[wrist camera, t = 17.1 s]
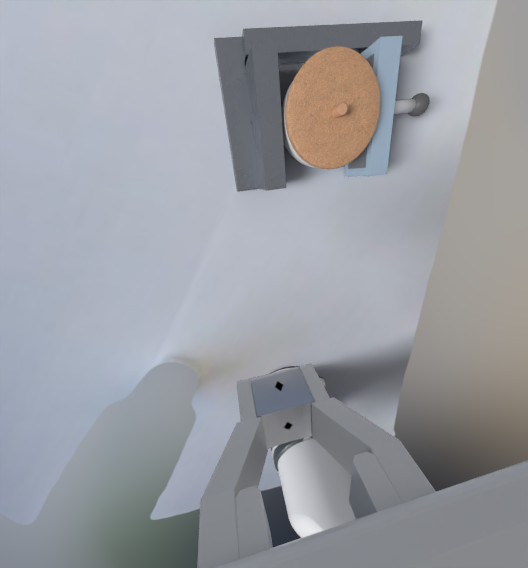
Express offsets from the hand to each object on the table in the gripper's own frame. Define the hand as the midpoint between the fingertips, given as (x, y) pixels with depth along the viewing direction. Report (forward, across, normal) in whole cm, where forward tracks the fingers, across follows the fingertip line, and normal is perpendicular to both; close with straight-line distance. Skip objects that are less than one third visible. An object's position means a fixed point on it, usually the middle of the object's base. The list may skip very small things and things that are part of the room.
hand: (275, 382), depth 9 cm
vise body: (+29, -14, -13) cm, 35 cm away
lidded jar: (+29, -13, -12) cm, 34 cm away
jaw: (+29, -23, -12) cm, 39 cm away
